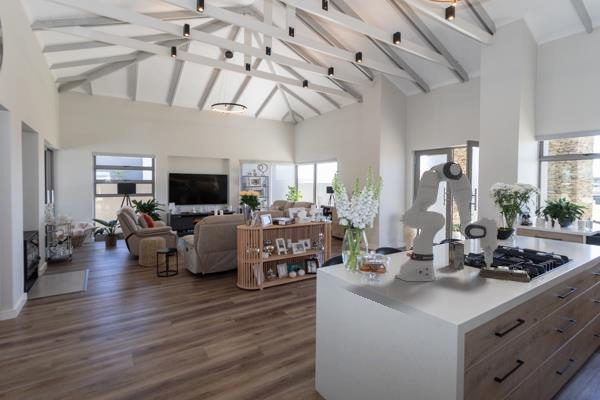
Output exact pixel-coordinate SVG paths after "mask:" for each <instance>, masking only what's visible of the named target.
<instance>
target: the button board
mask: <svg viewBox="0 0 600 400" xmlns="http://www.w3.org/2000/svg"><path fill="white" fill-rule="evenodd" d="M483 267H484V266H481V268H480V269H479V277H482V278H483V277H484V278H485V277H486V278H490V279H491V278H492V279H502V280H510V281H518V282H519V281H520V282H525V281H528V282H529V283H531V277H530V276H529V274H528V272H527V271H526V270H523V271H524V272H525V273H516V272H513V270H514V269H509V272H507V271H498V267H492V268H493V270H488V269H483ZM528 282H527V283H528Z"/></svg>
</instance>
